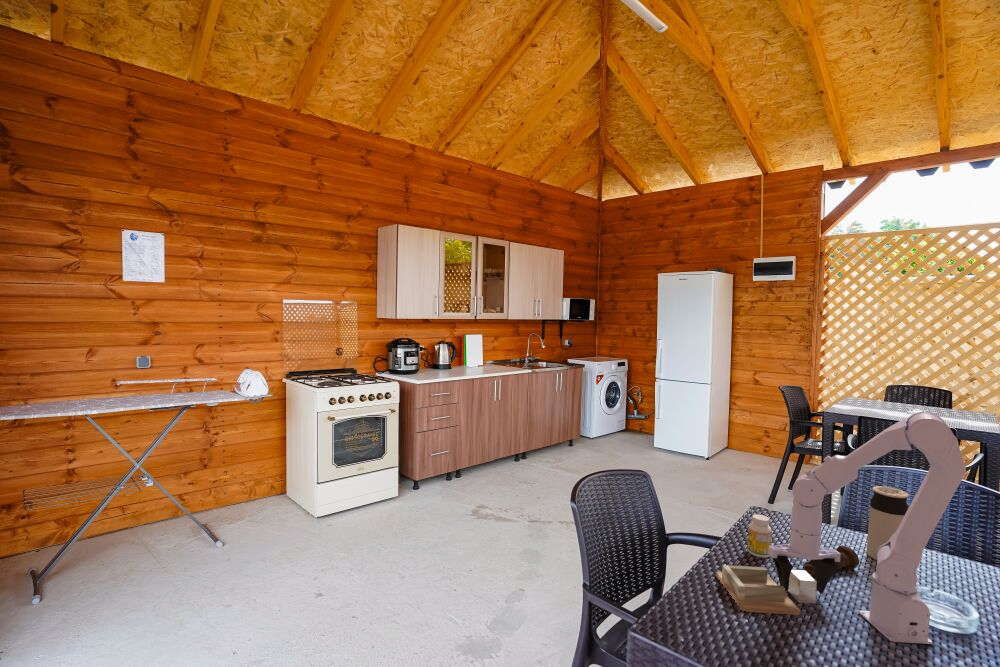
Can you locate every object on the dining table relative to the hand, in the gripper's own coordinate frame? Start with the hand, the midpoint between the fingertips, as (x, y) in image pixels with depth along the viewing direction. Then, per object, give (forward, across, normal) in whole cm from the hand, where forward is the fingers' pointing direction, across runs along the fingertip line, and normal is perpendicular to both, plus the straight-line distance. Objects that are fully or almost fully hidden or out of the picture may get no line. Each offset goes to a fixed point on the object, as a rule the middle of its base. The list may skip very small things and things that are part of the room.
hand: (801, 589), depth 111 cm
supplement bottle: (+2, 0, -20) cm, 20 cm away
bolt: (+2, -13, -12) cm, 18 cm away
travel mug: (+2, -33, -21) cm, 39 cm away
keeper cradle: (+2, +10, 0) cm, 10 cm away
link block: (+2, 0, 0) cm, 2 cm away
